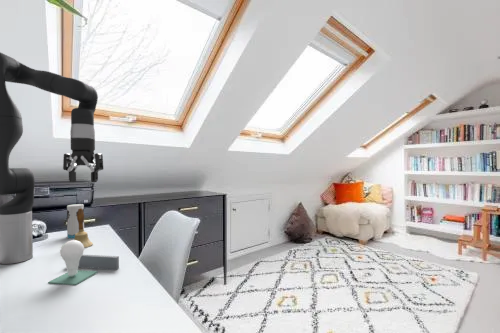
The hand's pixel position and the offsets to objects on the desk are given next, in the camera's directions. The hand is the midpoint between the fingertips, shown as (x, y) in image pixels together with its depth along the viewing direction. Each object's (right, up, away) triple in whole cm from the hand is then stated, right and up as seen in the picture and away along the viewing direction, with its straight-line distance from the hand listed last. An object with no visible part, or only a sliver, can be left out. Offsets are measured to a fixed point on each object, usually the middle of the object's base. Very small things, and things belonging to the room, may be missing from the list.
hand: (83, 182), depth 98 cm
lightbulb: (+6, -28, -16) cm, 33 cm away
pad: (+7, -28, -16) cm, 33 cm away
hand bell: (-11, -28, +16) cm, 34 cm away
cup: (-23, -28, +31) cm, 48 cm away
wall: (+8, -28, -8) cm, 30 cm away
